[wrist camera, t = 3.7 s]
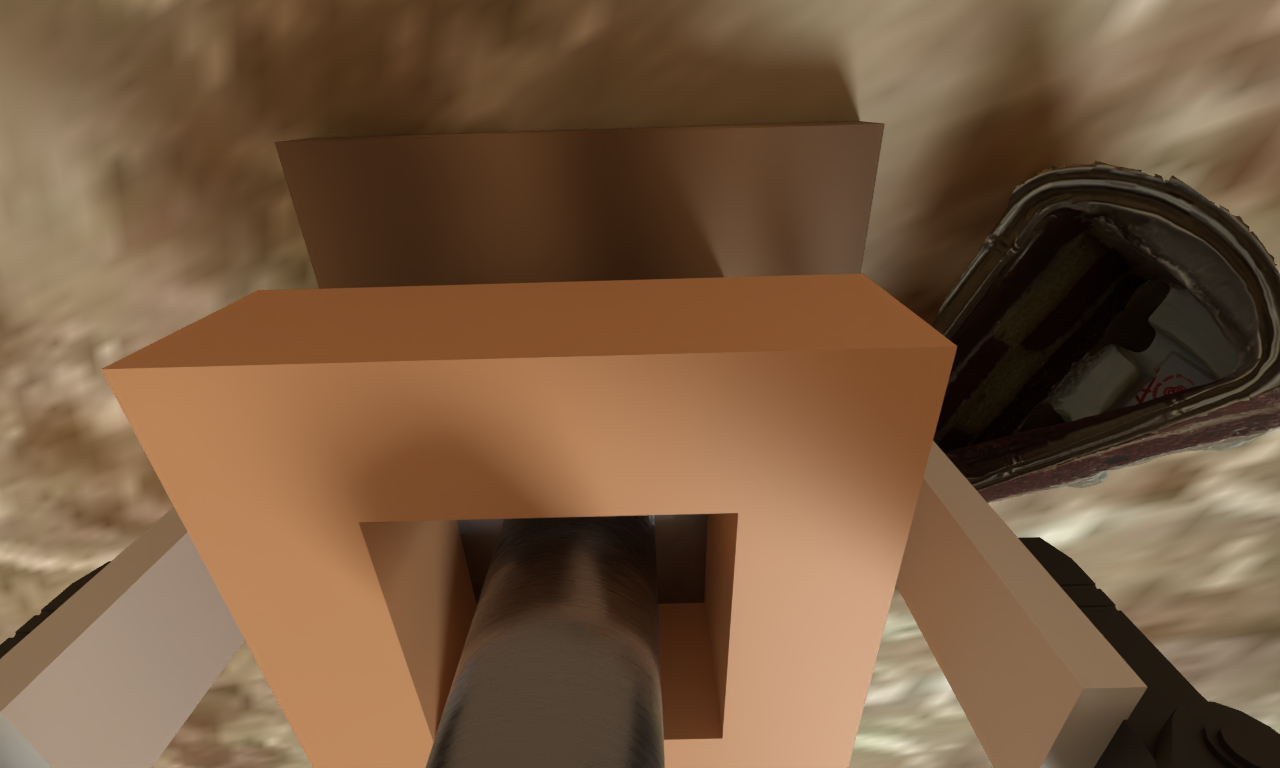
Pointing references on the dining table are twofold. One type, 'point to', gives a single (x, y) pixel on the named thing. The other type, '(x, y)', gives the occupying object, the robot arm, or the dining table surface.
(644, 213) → the board
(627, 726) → the stand
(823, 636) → the collar
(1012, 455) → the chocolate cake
